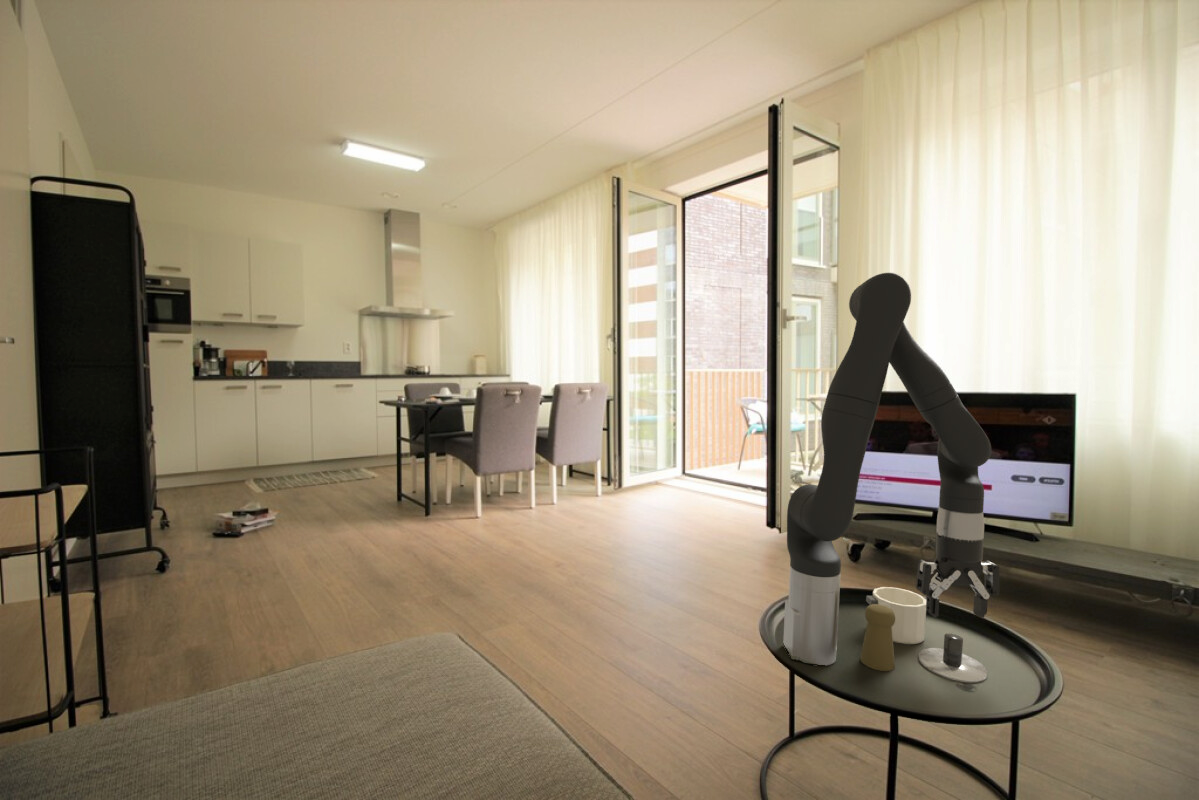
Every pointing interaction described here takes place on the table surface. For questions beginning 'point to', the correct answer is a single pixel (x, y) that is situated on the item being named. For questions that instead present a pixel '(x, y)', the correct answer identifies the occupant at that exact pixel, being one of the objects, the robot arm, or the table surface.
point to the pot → (903, 613)
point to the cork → (878, 638)
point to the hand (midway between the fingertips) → (955, 615)
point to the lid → (953, 661)
